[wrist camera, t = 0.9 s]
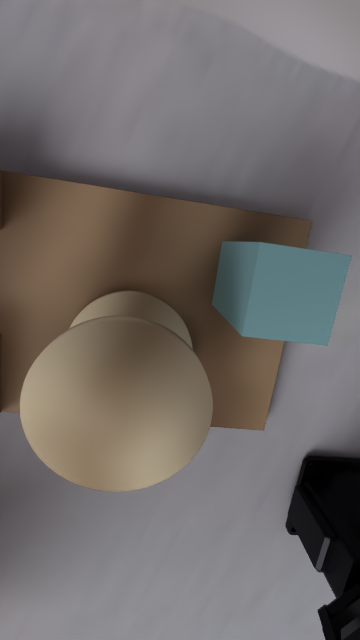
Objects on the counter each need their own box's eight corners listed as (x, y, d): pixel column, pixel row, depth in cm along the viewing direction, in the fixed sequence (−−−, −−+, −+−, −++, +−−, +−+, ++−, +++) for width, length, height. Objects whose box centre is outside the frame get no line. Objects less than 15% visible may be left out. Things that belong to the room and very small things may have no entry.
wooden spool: (199, 298, 17) (227, 332, 11) (181, 410, 19) (197, 495, 13) (71, 282, 17) (21, 309, 10) (64, 400, 18) (18, 487, 12)
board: (303, 221, 18) (345, 217, 14) (258, 421, 21) (283, 462, 17) (-74, 161, 15) (-149, 135, 12) (-62, 397, 18) (-118, 439, 15)
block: (283, 250, 17) (351, 255, 11) (270, 311, 18) (327, 345, 12) (222, 241, 17) (260, 242, 11) (211, 304, 18) (241, 336, 12)
